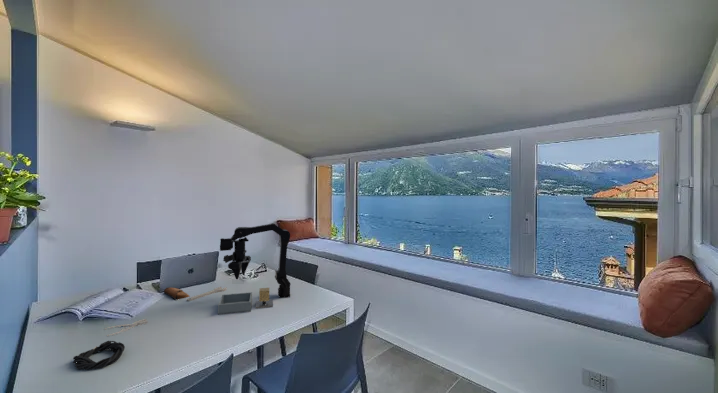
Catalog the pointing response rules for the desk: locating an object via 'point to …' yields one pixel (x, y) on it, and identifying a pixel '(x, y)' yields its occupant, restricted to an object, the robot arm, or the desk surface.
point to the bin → (235, 303)
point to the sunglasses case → (176, 293)
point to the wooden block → (264, 294)
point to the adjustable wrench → (207, 293)
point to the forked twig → (129, 325)
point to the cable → (87, 363)
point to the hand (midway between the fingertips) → (240, 276)
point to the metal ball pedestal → (264, 304)
